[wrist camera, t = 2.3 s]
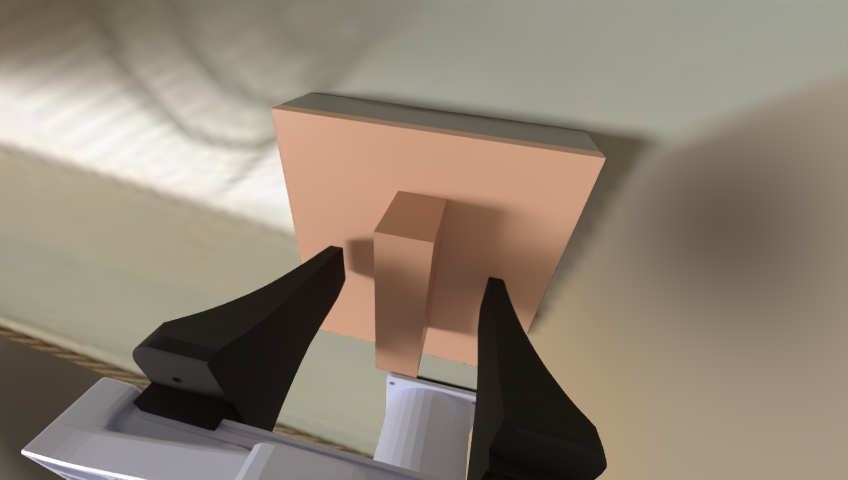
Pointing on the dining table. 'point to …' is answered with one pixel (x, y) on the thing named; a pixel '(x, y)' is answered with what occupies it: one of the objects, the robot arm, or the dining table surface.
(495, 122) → the tub
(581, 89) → the dining table surface
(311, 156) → the lid
